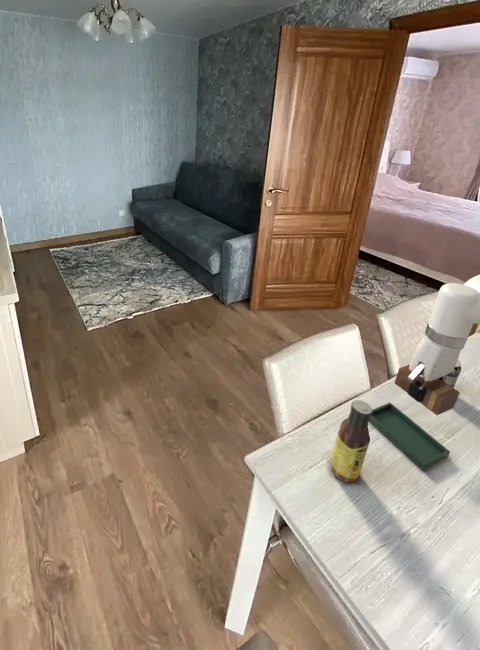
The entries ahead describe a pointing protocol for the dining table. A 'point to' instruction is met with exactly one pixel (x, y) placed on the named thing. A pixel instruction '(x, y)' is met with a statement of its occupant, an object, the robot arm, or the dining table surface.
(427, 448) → the tray
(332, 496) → the dining table surface
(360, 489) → the dining table surface
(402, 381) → the walnut box
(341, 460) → the sauce bottle
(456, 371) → the beverage can
